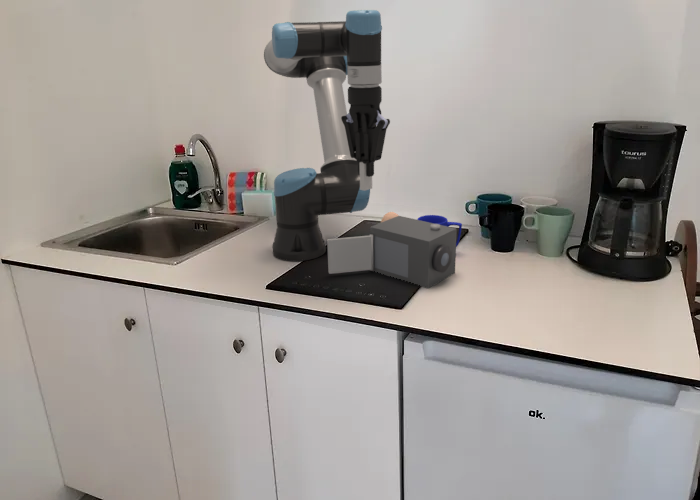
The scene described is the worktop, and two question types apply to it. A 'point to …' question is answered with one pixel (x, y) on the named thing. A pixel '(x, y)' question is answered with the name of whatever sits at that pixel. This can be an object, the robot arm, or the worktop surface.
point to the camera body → (414, 250)
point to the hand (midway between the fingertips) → (366, 188)
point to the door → (350, 254)
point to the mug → (441, 222)
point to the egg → (389, 216)
